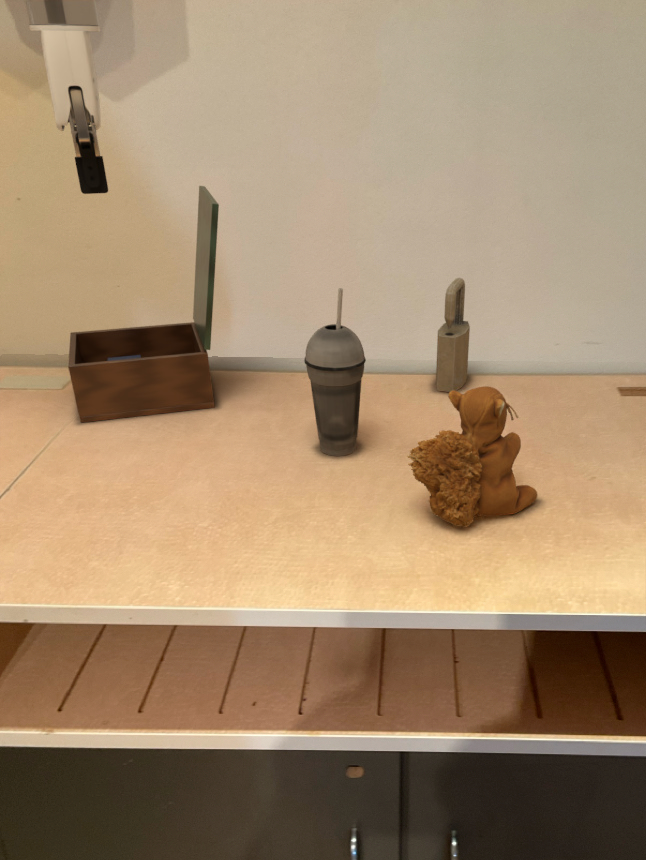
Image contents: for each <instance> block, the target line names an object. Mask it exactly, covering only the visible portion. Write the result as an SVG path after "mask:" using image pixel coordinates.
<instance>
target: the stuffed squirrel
mask: <svg viewBox="0 0 646 860" xmlns="http://www.w3.org/2000/svg"><path fill="white" fill-rule="evenodd" d="M447 397H448V399H449V402H450V403H451V404H452V405H453V407H454V409H455V410H456V411H457V412H458V413H459V419H460V429H461V430H462V431H461V432H460V433H459V431H453V430H451V429H450V430H449V429H448V430H443V429H442V430H439V432H438V434H436V435H435V436H434V437H433V438H429V439H426V440H425V439H423V440H421V441H418V442H417V445H418V446H417V447H413V448H411V449H410V450H409V455H407V456H406V457H407V458H408V459H410V460H411V461H412V462H409V463H407V465H408V466H409V467H411V471H412V476H413V477H414V479H415V480H416V481H417V482H419V483H420V484H423V486H424V487H425V488H426V489H427V491H428V492H429V494H430V495H429V500H428V503H429V508H430V510H431V512H432V514H433V515H434V516H437V517H438V518H441V520H444V522H445V521H446V522H448V523H450V524H452V525H454V526H458V527H459V526H460V527H463V528H466V527H469V526H470V525H471V523H473V521H475V518H478V517H481V516H485V517H495V516H505V515H514V514H516V513H519V512H520V511H522V510H524V509H525V508H527V507H529V506H530V505H532V504H533V502H535V501H536V500H537V498H538V491H537V490H536V489H535V488H534V487H532V486H531V485H527V484H520V485H517V481H516V477H515V473H514V471H513V467H514V463H515V460H516V459H517V457H518V455H519V454H520V450H521V446H522V442H521V441H522V440H521V437H520V435H519V433H516V432H514V431H512V432H509V433H507V434H506V435H505V436H503V435H502V434H503V432H504V430H505V427H506V423H507V417H508V414H509V415H510V420H511V421H514V420H515V418H514V416H515V417H516V419H519V415H518V414H517V412H516V410H515V409H514V408H513V406H511V405H510V404H509V403H508V402H507V401H506V398H505V396H504V395H503V394H502V393H501V391H500V390H498V389H497V388H495V387H492V386H486V385H485V386H484V385H483V386H477V387H475V388H471V389H468V390H466V391H465V392H464V393H461V392H459V391H458V390H456V391H455V390H453V391H451V392H448V395H447ZM512 412H513V413H512ZM513 414H514V416H513Z"/></svg>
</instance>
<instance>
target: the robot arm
mask: <svg viewBox="0 0 646 860" xmlns="http://www.w3.org/2000/svg"><path fill="white" fill-rule="evenodd" d="M23 4H24V8H25V9H24V10H25V14H26V18H27V19H26V20H27V24H28V29H29V31H31V32H32V31H33V32H39V33H40V40H41V41H40V42H41V48H42V55H43V61H44V67H45V72H46V77H47V82H48V87H49V92H50V98H51V103H52V108H53V114H54V119H55V125H56V129H58V130H59V131H61V132H64V131H65V128H66V126H68V125H69V126H70V134H71V138H72V142H73V147H74V153H75V156H74V163H75V168H76V173H77V178H78V183H79V189H80V191H81V193H82V194H84V195H93V194H95V195H96V194H107V193H108V192H109V186H108V185H109V184H108V179H107V174H106V168H105V162H104V156H103V155H101V152H100V146H99V141H98V134H97V131H98V130H99V129H100V128H101V121H102V120H101V104H100V103H101V101H100V92H99V85H98V78H97V77H98V76H97V71H96V63H95V59H94V52H93V45H92V40H91V32H98V33H99V32H101V27H100V21H99V15H98V9H97V3H96V0H23Z"/></svg>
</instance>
